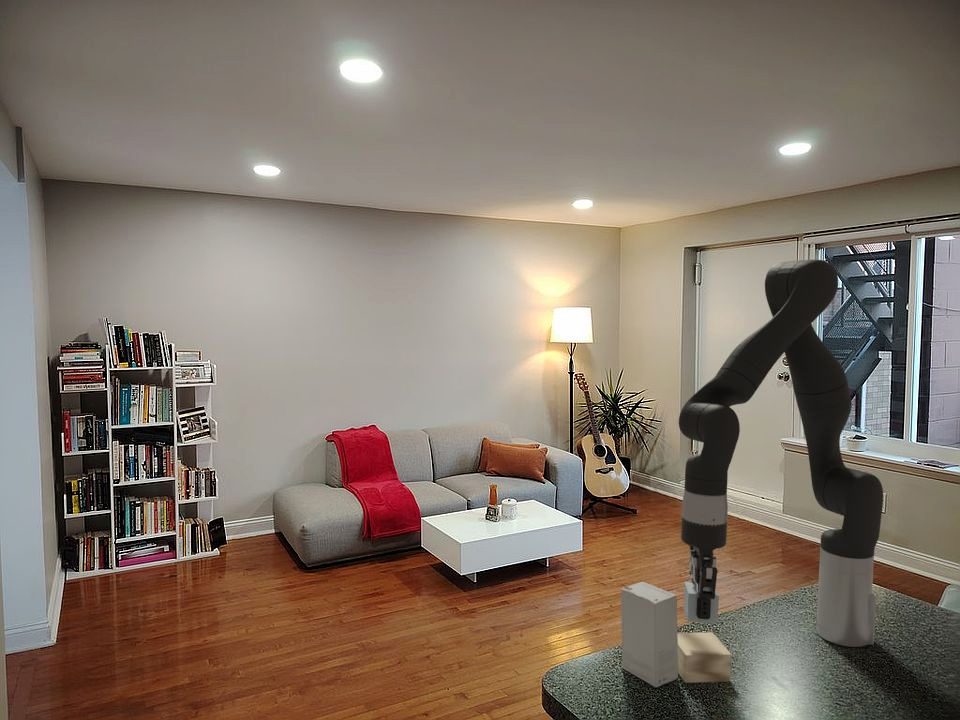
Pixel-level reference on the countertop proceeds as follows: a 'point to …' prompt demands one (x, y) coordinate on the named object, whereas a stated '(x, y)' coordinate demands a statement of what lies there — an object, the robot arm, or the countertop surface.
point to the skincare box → (649, 633)
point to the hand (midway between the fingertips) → (700, 610)
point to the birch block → (703, 658)
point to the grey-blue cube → (691, 604)
